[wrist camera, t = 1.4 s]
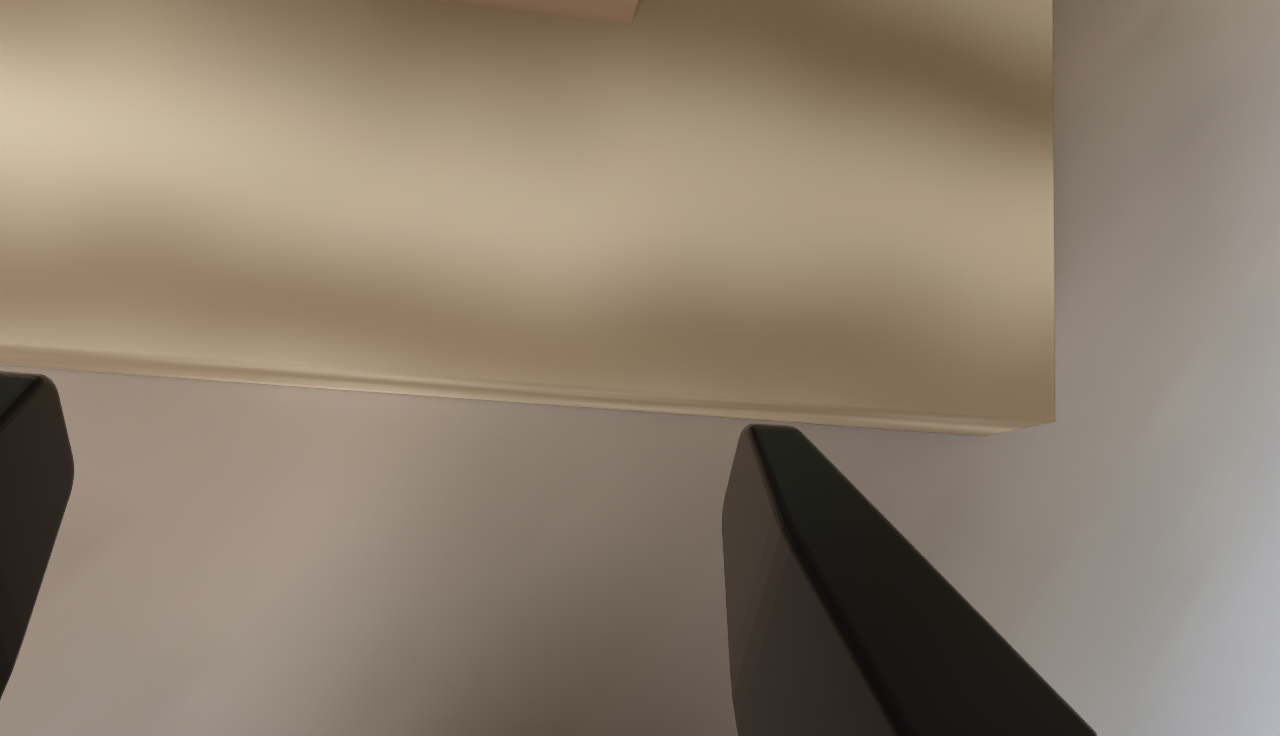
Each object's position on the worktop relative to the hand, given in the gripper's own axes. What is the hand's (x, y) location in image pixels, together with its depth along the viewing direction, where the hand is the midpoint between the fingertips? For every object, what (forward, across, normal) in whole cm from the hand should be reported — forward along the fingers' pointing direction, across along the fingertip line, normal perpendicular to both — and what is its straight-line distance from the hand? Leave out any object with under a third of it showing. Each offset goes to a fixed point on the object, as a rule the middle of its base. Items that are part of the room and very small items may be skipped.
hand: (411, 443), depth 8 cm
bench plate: (+16, 0, +3) cm, 16 cm away
